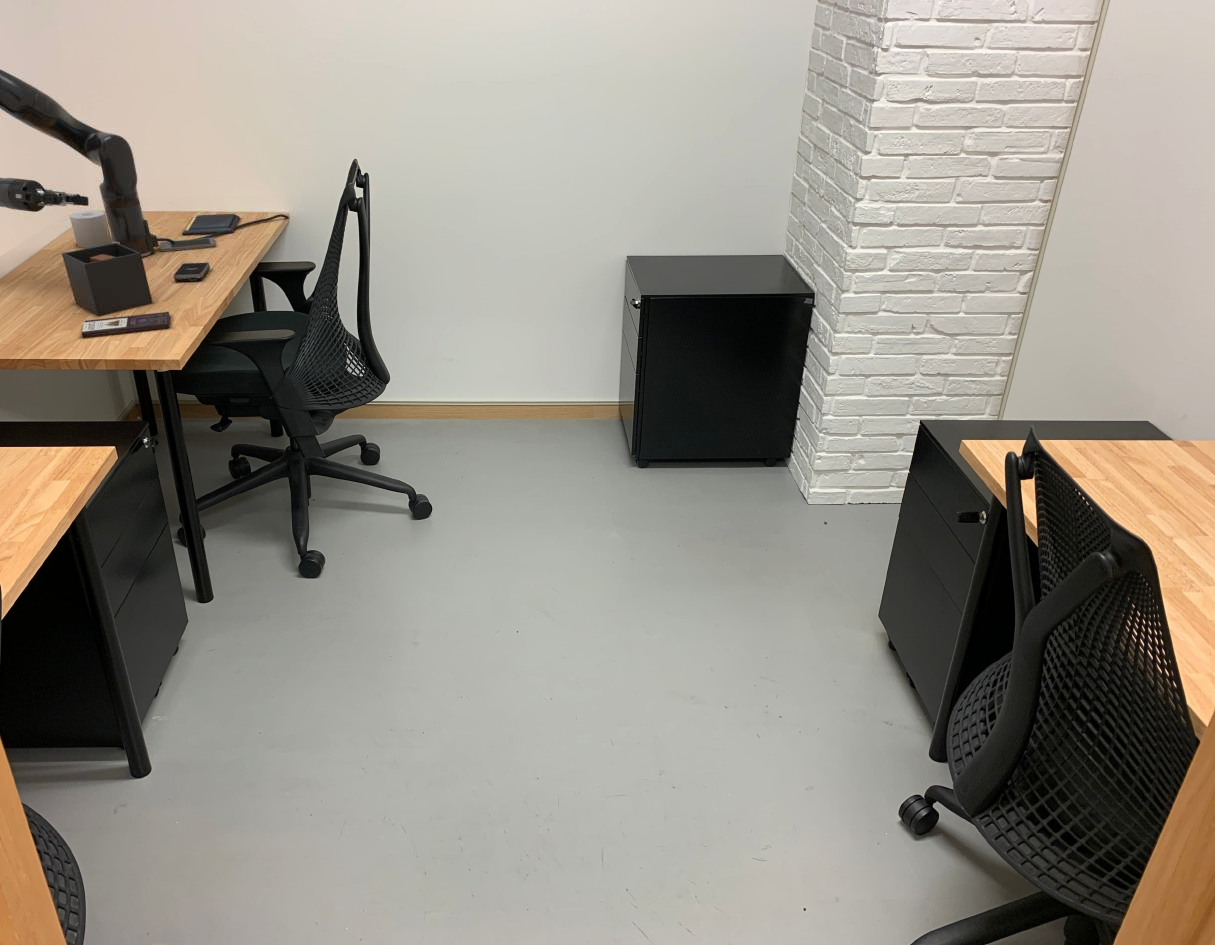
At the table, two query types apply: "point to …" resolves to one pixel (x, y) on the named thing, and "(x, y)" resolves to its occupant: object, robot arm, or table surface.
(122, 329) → the chocolate bar
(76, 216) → the toilet tissue
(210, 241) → the smartphone
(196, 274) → the external hard drive
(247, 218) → the table surface
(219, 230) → the dark blue book
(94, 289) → the trash can
